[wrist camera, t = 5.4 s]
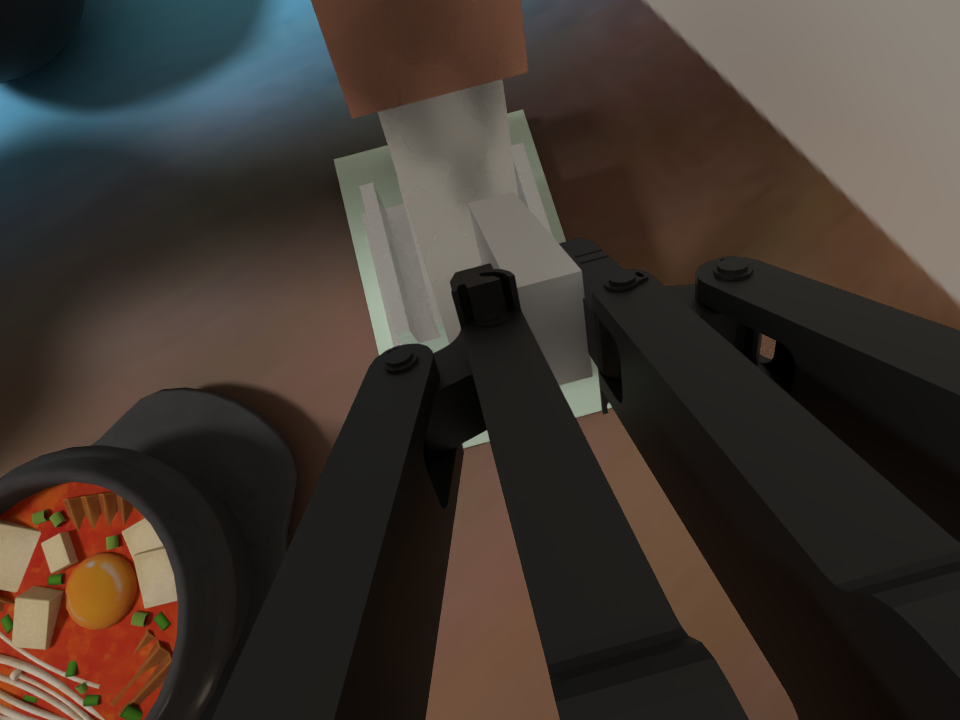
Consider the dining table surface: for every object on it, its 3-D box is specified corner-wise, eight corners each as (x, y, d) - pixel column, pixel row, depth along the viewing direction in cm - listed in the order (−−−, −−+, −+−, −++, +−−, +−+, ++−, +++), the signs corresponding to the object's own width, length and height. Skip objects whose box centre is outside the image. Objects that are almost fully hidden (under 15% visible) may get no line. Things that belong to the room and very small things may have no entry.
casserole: (180, 866, 28) (47, 1040, 20) (-74, 712, 30) (-293, 811, 22) (374, 460, 32) (330, 463, 24) (137, 348, 34) (20, 315, 26)
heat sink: (586, 378, 31) (617, 351, 23) (419, 423, 31) (391, 413, 23) (505, 121, 35) (507, 20, 26) (355, 161, 34) (311, 71, 26)
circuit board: (615, 407, 32) (619, 405, 31) (408, 463, 32) (404, 464, 30) (522, 120, 36) (522, 109, 35) (339, 169, 36) (333, 159, 35)
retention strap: (550, 356, 25) (558, 372, 24) (447, 385, 25) (450, 401, 24) (505, -56, 14) (515, -54, 13) (313, -6, 14) (310, 0, 13)
